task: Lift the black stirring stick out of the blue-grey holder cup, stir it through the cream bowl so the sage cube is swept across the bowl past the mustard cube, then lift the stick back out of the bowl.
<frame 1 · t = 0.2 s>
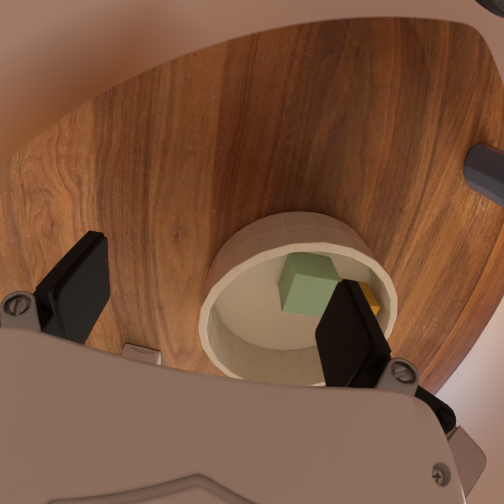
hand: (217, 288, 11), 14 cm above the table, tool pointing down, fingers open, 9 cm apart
ink box: (144, 365, 35), on the table
sage cube: (303, 271, 27), point 1 cm above the table, touching bowl
mustard cube: (343, 295, 29), point 1 cm above the table, touching bowl
bowl: (293, 292, 29), on the table
holder: (480, 167, 22), on the table
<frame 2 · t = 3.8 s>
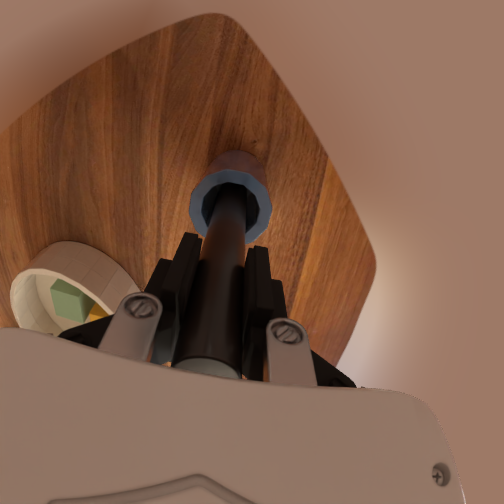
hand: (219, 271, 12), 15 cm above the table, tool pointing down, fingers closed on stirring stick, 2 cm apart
stirring stick: (235, 179, 25), point 1 cm above the table, touching gripper, holder
sage cube: (80, 286, 30), point 1 cm above the table, touching bowl
mustard cube: (118, 308, 32), point 1 cm above the table, touching bowl
bowl: (85, 301, 32), on the table
holder: (235, 178, 25), on the table
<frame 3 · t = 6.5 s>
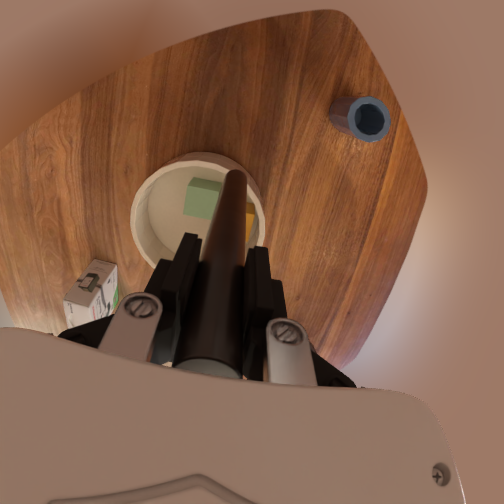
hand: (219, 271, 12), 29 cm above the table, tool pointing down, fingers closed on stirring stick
ink box: (106, 279, 48), on the table
stirring stick: (235, 180, 25), point 14 cm above the table, touching gripper
sage cube: (205, 193, 39), point 1 cm above the table, touching bowl
mustard cube: (237, 213, 41), point 1 cm above the table, touching bowl
bowl: (202, 211, 41), on the table
holder: (347, 114, 34), on the table
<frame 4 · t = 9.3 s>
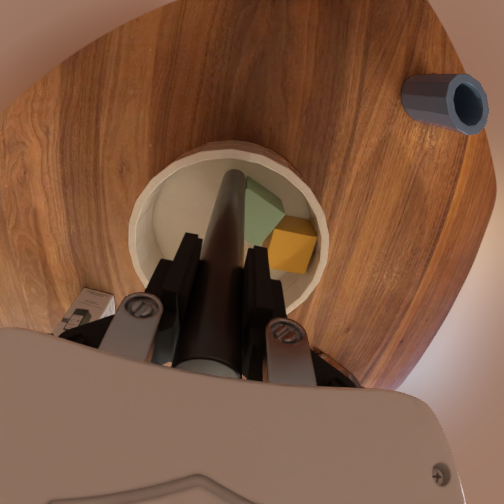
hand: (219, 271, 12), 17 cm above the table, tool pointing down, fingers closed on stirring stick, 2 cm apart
ink box: (101, 313, 36), on the table
stirring stick: (234, 179, 25), point 3 cm above the table, touching gripper, sage cube
sage cube: (252, 203, 28), point 1 cm above the table, touching mustard cube, stirring stick
mustard cube: (285, 233, 30), point 1 cm above the table, touching bowl, sage cube
bowl: (230, 225, 30), on the table
holder: (421, 98, 23), on the table
tin: (332, 368, 42), on the table
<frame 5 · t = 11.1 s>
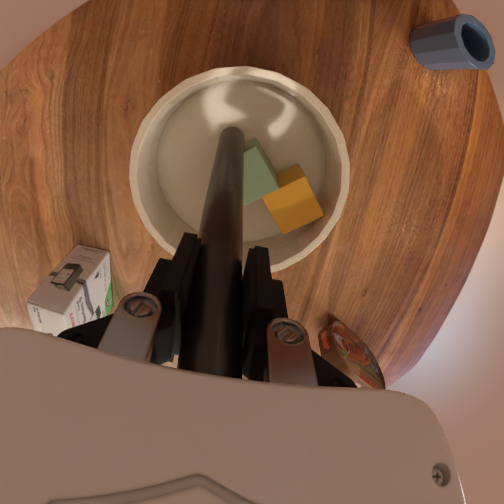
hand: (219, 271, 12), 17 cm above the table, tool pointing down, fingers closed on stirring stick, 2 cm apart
ink box: (95, 275, 33), on the table
stirring stick: (232, 137, 23), point 3 cm above the table, tilted 14°, touching gripper, sage cube
sage cube: (247, 165, 26), point 1 cm above the table, touching mustard cube, stirring stick
mustard cube: (288, 190, 27), point 1 cm above the table, touching bowl, sage cube
bowl: (240, 164, 27), on the table
holder: (429, 47, 20), on the table
tin: (347, 341, 39), on the table
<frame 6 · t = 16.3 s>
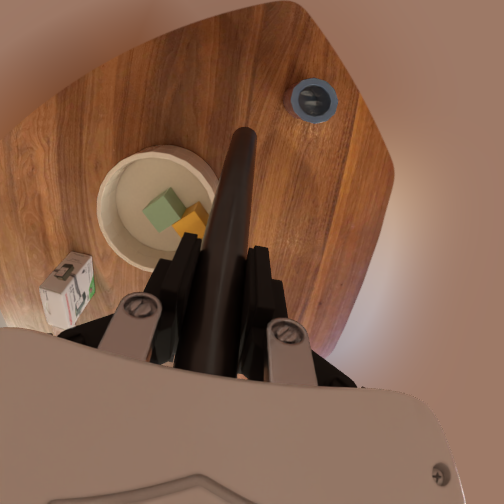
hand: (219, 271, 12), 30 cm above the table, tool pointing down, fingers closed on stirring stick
ink box: (83, 271, 48), on the table
stirring stick: (244, 137, 23), point 16 cm above the table, tilted 14°, touching gripper
sage cube: (168, 204, 41), point 1 cm above the table, touching bowl
mustard cube: (195, 218, 43), point 1 cm above the table, touching bowl
bowl: (165, 202, 42), on the table
garlic bulb: (67, 322, 55), on the table
holder: (302, 100, 35), on the table
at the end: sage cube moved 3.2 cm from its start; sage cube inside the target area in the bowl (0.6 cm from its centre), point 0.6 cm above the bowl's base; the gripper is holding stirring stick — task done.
